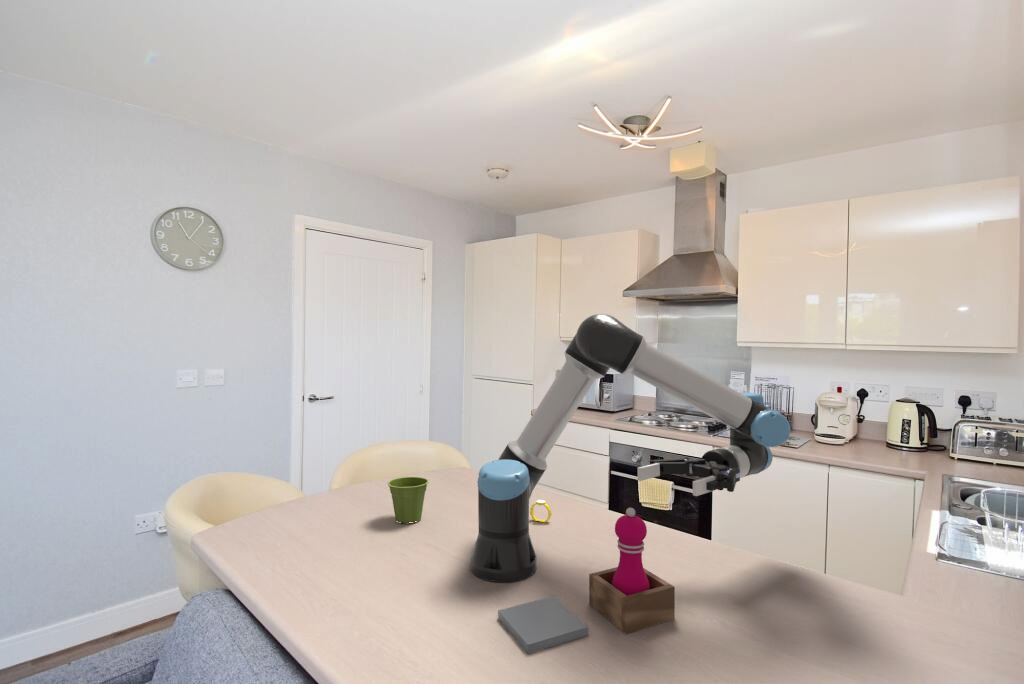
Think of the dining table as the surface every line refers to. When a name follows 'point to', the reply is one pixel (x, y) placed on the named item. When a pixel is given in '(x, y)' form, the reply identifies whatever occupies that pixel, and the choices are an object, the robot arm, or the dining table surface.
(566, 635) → the slate tile
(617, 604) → the walnut collar
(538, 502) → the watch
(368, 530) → the dining table surface
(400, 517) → the plant pot
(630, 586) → the pepper mill
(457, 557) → the dining table surface
